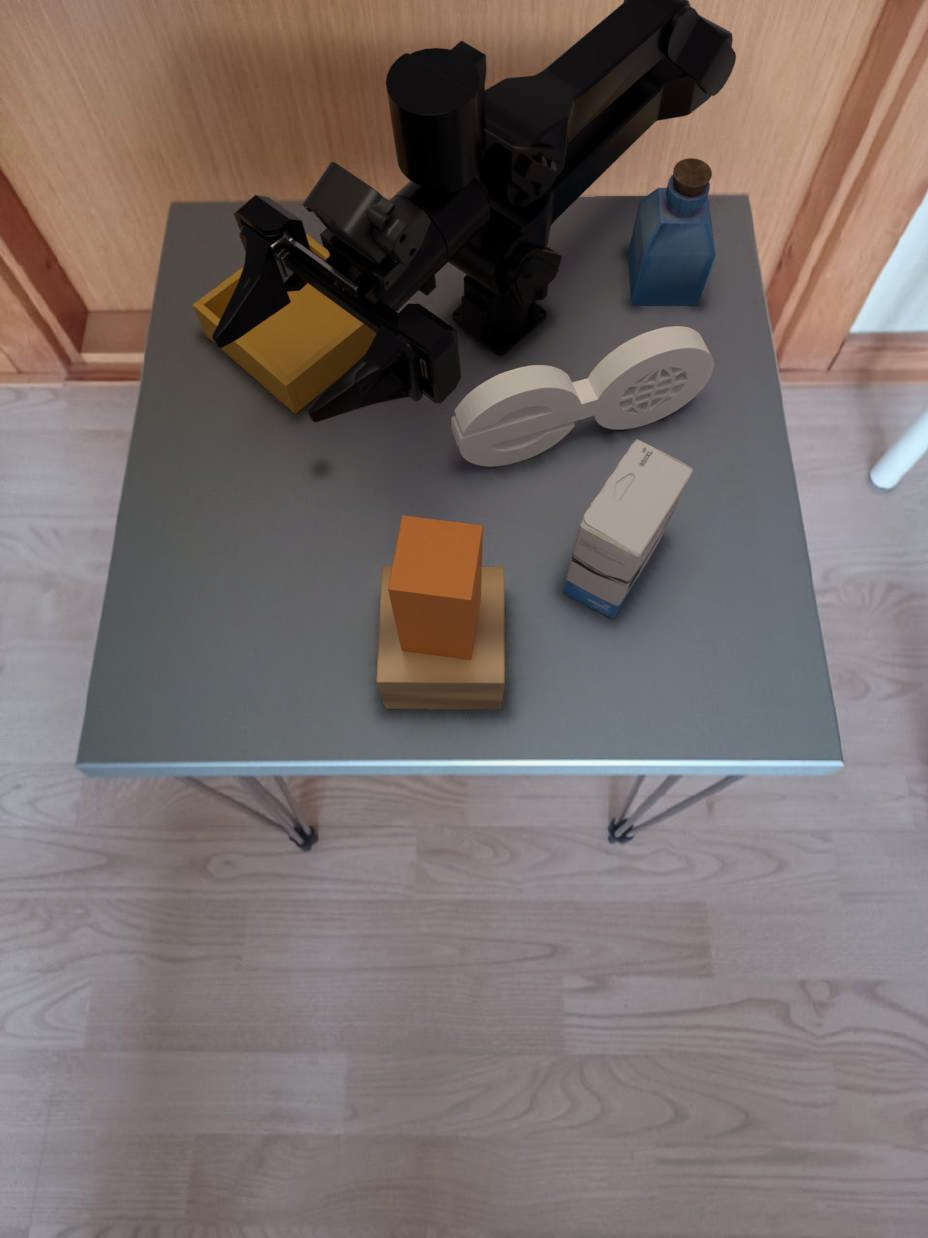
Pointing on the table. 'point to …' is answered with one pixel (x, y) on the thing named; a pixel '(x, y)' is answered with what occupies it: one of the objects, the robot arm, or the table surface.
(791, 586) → the table surface
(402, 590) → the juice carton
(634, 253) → the perfume bottle
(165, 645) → the table surface
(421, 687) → the riser block
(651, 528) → the ink box
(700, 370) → the white double disc
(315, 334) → the tray
